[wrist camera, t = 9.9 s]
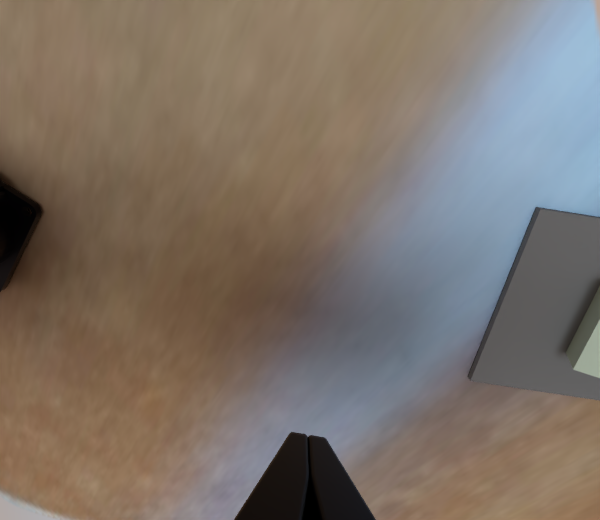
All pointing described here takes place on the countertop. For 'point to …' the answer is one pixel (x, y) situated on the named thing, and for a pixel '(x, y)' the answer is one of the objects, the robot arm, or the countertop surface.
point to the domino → (587, 341)
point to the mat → (544, 308)
